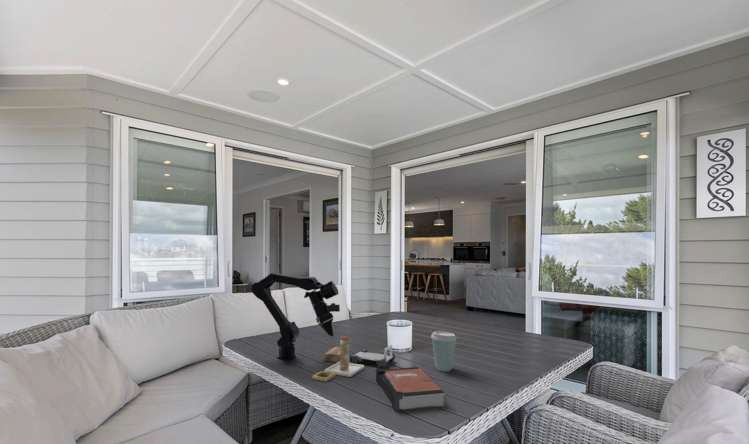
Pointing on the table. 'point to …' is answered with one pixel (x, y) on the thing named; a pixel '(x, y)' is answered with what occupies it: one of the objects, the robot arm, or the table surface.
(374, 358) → the trolley
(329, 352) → the bar
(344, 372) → the tray
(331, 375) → the pin socket
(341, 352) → the pin
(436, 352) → the disposable coffee cup
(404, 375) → the book
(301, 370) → the table surface
